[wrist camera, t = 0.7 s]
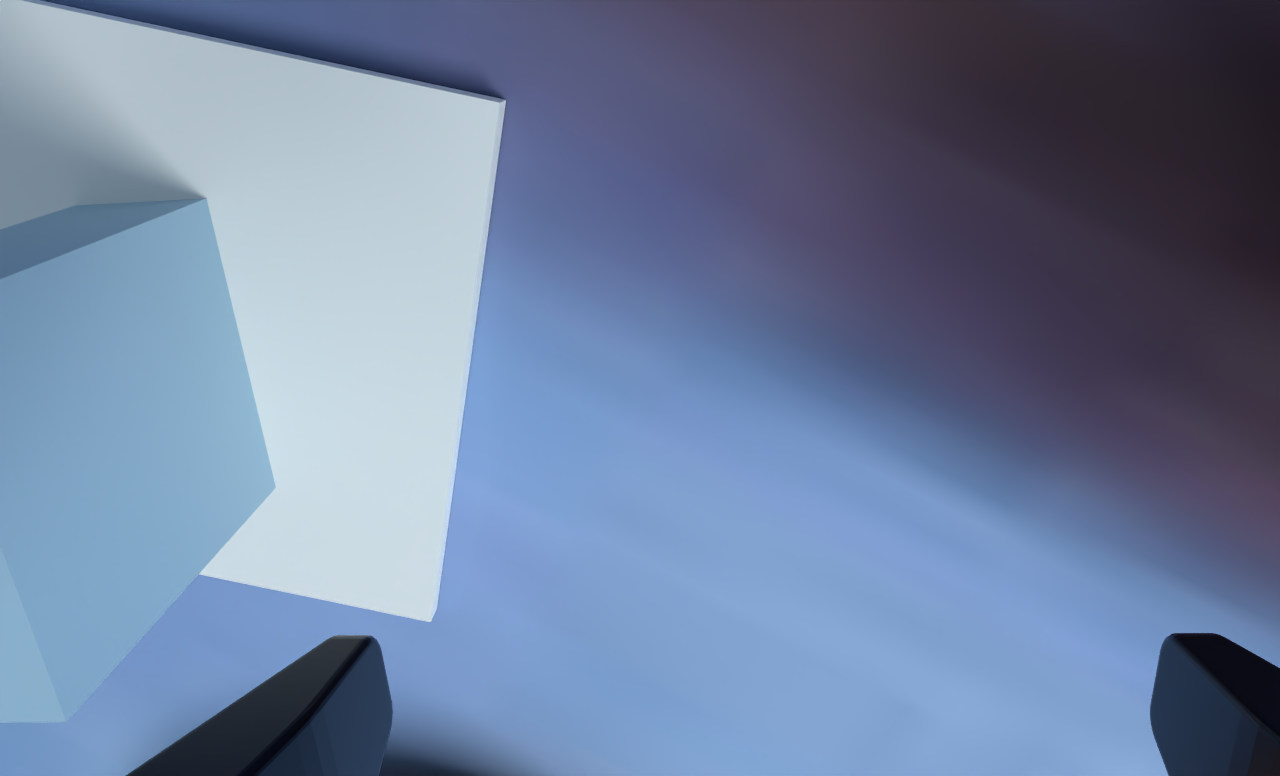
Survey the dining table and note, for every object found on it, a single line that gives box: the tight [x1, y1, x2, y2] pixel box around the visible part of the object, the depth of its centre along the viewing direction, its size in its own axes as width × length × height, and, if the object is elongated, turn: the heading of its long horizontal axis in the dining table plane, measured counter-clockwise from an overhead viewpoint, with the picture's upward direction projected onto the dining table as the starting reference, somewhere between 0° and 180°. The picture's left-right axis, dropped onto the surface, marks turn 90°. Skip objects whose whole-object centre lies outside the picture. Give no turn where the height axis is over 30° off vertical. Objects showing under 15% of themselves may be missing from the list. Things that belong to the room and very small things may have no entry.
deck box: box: [0, 198, 276, 722], centre depth 18 cm, size 3×7×8 cm, turn 4°
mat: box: [0, 0, 506, 622], centre depth 22 cm, size 14×13×1 cm
